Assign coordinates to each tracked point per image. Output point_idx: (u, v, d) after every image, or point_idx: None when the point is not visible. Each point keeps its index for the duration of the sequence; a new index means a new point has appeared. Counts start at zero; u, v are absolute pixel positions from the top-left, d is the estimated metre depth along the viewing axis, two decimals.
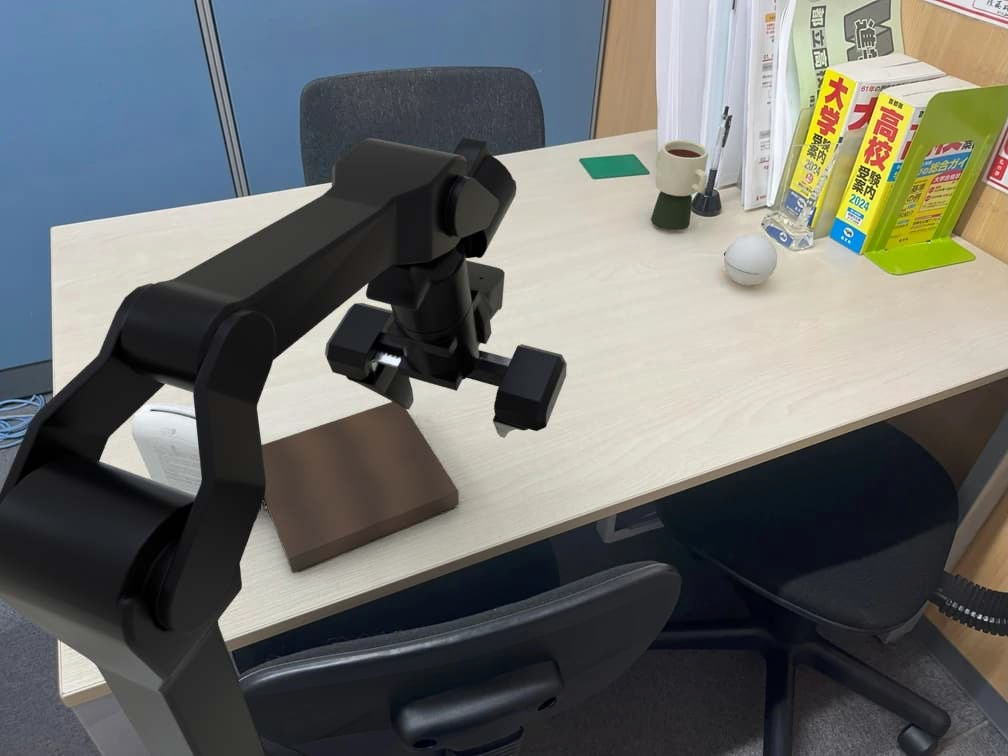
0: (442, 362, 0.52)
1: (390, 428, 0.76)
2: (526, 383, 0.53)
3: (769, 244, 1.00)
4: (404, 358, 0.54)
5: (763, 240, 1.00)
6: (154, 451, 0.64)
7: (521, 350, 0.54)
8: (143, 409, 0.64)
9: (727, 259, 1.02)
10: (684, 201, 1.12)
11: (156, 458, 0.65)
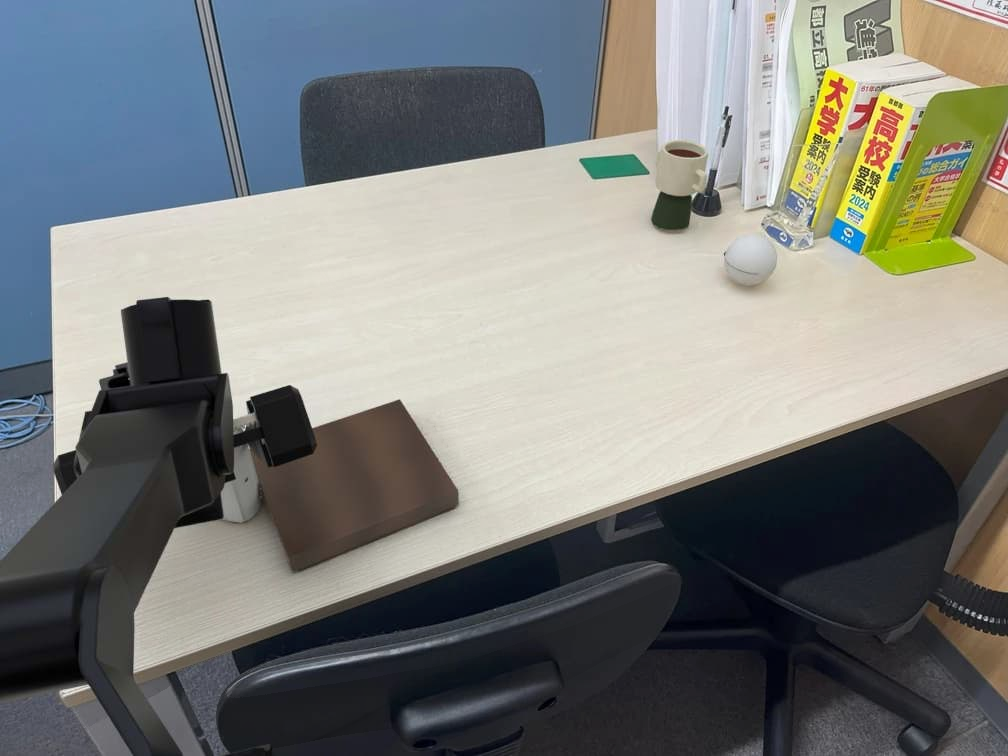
0: None
1: (390, 428, 0.76)
2: (288, 435, 0.59)
3: (769, 244, 1.00)
4: None
5: (763, 240, 1.00)
6: None
7: (261, 408, 0.58)
8: None
9: (727, 259, 1.02)
10: (684, 201, 1.12)
11: None
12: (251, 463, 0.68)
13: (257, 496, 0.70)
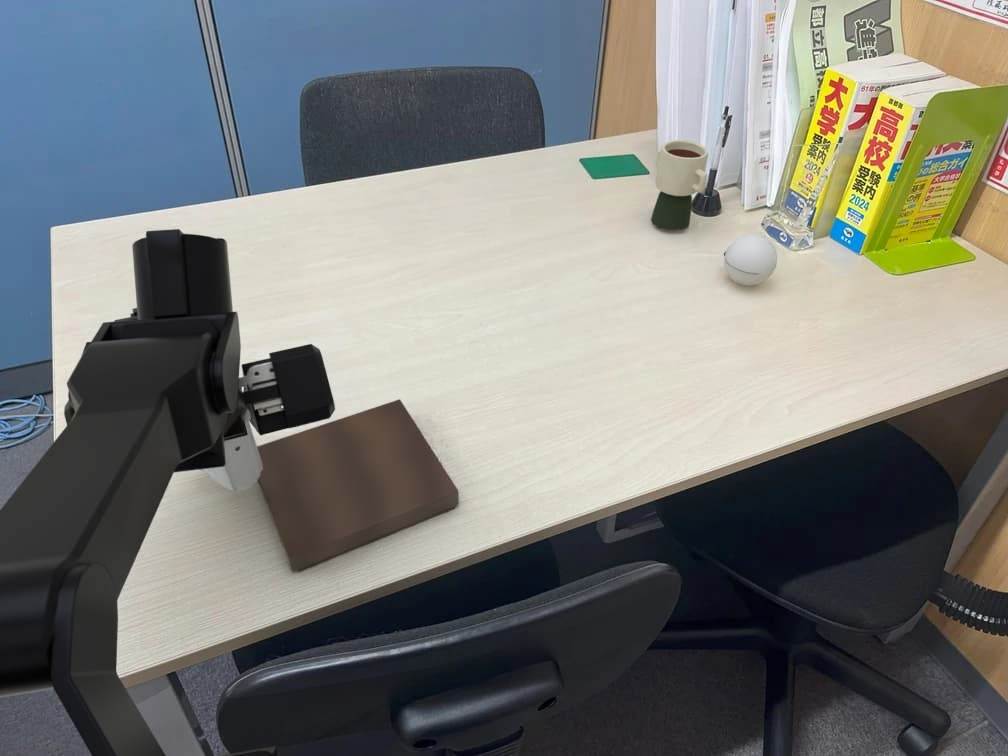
0: None
1: (390, 428, 0.76)
2: (305, 395, 0.56)
3: (769, 244, 1.00)
4: None
5: (763, 240, 1.00)
6: None
7: (279, 365, 0.56)
8: None
9: (727, 259, 1.02)
10: (683, 201, 1.12)
11: None
12: (250, 433, 0.65)
13: (253, 468, 0.67)
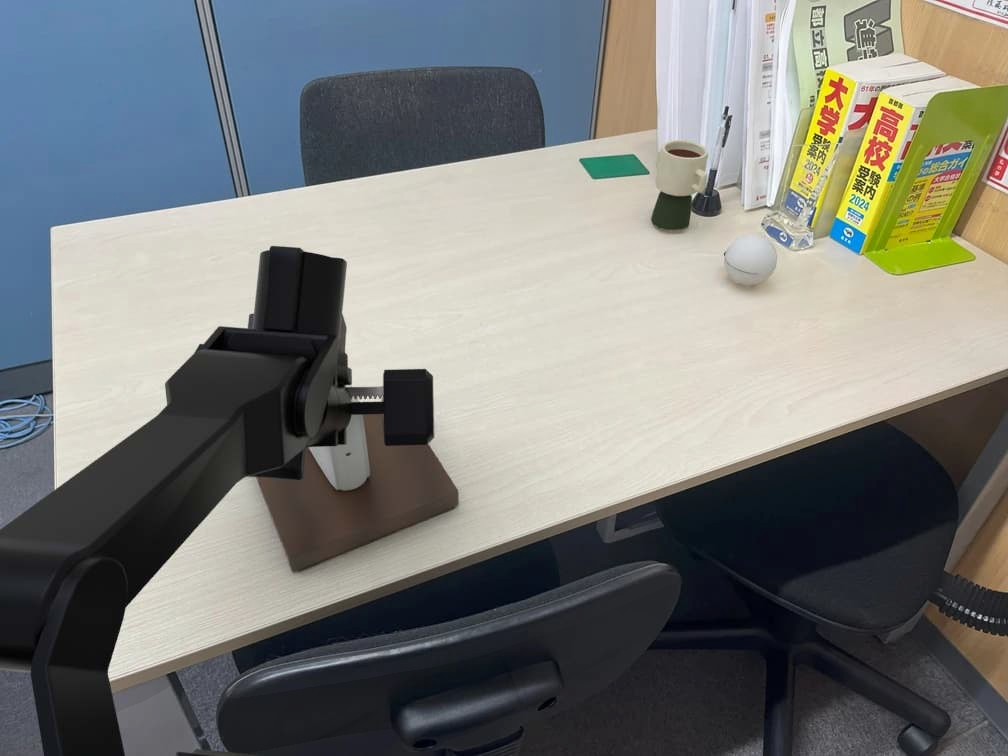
0: None
1: None
2: (407, 418, 0.56)
3: (769, 244, 1.00)
4: None
5: (763, 240, 1.00)
6: None
7: (389, 384, 0.57)
8: None
9: (727, 259, 1.02)
10: (684, 201, 1.12)
11: None
12: (363, 442, 0.67)
13: (359, 474, 0.69)
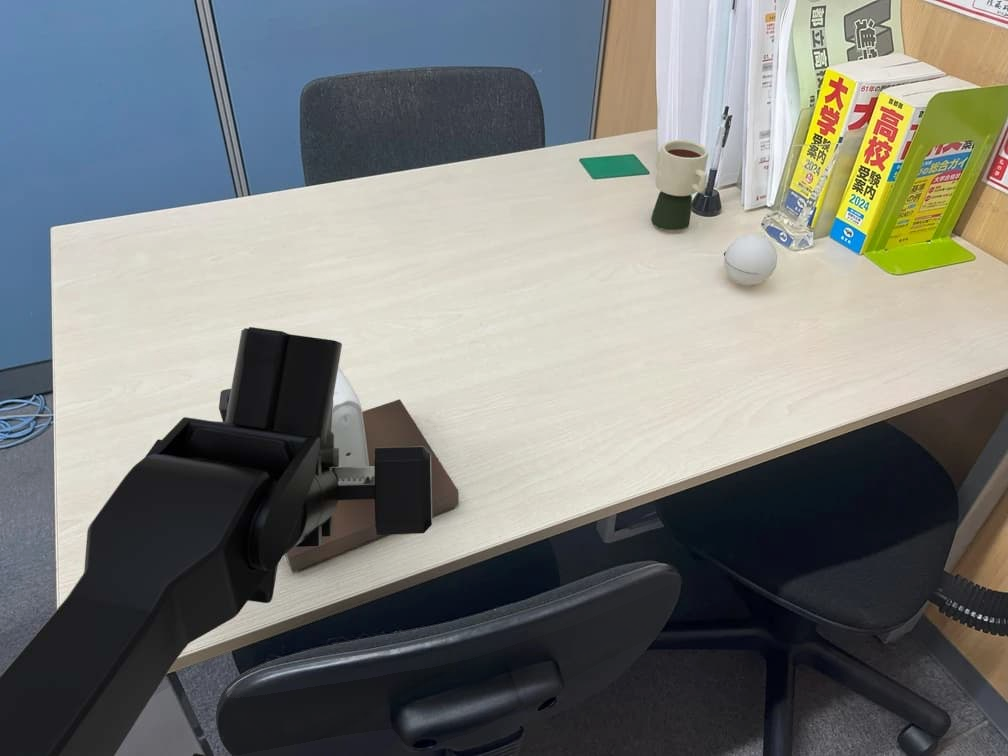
0: None
1: (390, 428, 0.76)
2: (401, 505, 0.50)
3: (769, 244, 1.00)
4: None
5: (763, 240, 1.00)
6: None
7: (381, 465, 0.50)
8: None
9: (727, 259, 1.02)
10: (683, 201, 1.12)
11: None
12: (363, 442, 0.67)
13: None
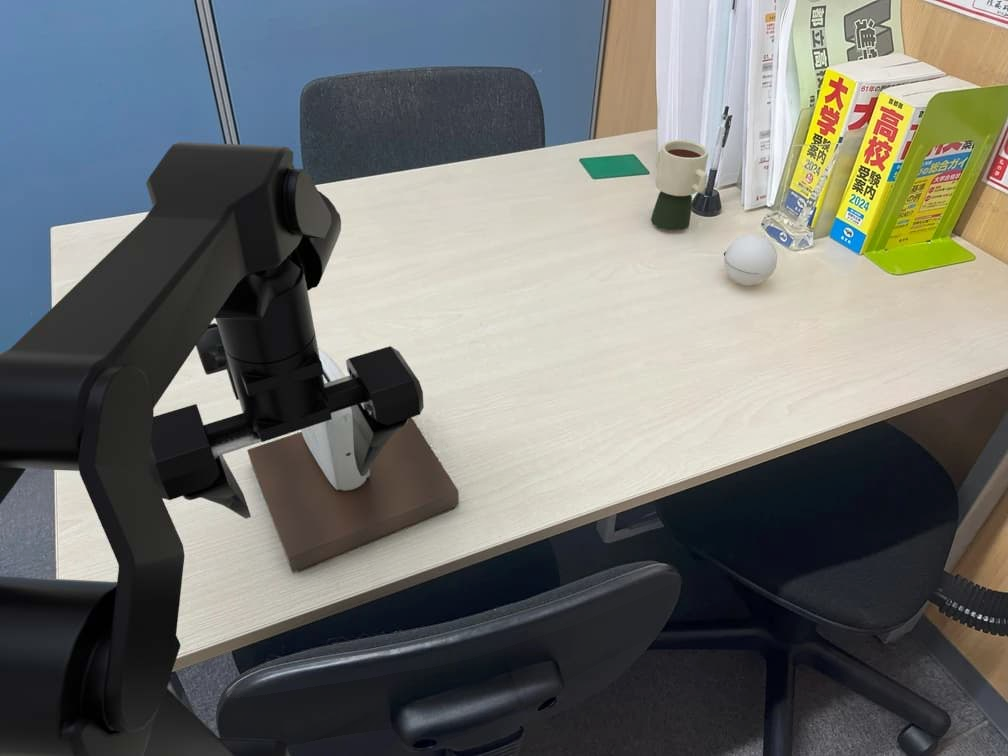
0: (310, 391, 0.47)
1: None
2: (387, 375, 0.52)
3: (769, 244, 1.00)
4: (258, 422, 0.47)
5: (763, 240, 1.00)
6: None
7: (356, 359, 0.53)
8: None
9: (727, 259, 1.02)
10: (684, 201, 1.12)
11: None
12: None
13: (359, 474, 0.69)
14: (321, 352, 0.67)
